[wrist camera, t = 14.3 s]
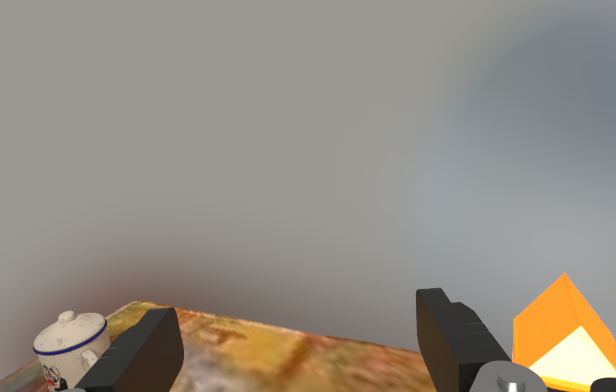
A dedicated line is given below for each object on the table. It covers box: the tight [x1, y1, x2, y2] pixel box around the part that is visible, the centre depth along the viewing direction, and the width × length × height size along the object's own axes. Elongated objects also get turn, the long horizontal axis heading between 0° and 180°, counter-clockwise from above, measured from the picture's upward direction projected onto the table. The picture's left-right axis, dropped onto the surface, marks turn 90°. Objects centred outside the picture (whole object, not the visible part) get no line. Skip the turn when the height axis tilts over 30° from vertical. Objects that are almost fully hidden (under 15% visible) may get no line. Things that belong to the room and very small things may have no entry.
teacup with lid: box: [33, 311, 111, 392], centre depth 53 cm, size 12×9×12 cm
